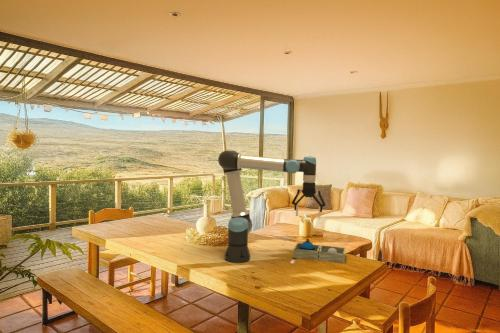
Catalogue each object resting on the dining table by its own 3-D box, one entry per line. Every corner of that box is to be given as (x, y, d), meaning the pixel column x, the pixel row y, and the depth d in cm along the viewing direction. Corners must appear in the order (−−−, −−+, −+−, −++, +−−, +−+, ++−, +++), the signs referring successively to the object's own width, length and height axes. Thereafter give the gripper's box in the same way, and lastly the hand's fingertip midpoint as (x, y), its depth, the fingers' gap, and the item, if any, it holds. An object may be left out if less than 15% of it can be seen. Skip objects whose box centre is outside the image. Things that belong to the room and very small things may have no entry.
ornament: (316, 255, 205) (317, 239, 204) (308, 258, 199) (309, 241, 198) (305, 252, 211) (305, 236, 210) (297, 254, 205) (297, 238, 204)
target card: (304, 265, 189) (304, 264, 189) (290, 263, 191) (290, 262, 191) (305, 261, 195) (305, 260, 195) (292, 260, 197) (292, 259, 197)
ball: (337, 260, 197) (337, 249, 196) (326, 258, 198) (327, 248, 198) (337, 257, 202) (337, 247, 202) (327, 255, 204) (327, 246, 204)
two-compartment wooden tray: (344, 265, 191) (345, 254, 191) (292, 258, 200) (293, 249, 199) (345, 257, 205) (345, 247, 205) (296, 252, 214) (296, 242, 214)
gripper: (330, 182, 203) (329, 217, 204) (290, 180, 210) (288, 214, 211) (329, 183, 196) (328, 219, 197) (287, 181, 203) (286, 216, 204)
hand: (308, 216), depth 204 cm, fingers open, 13 cm apart
